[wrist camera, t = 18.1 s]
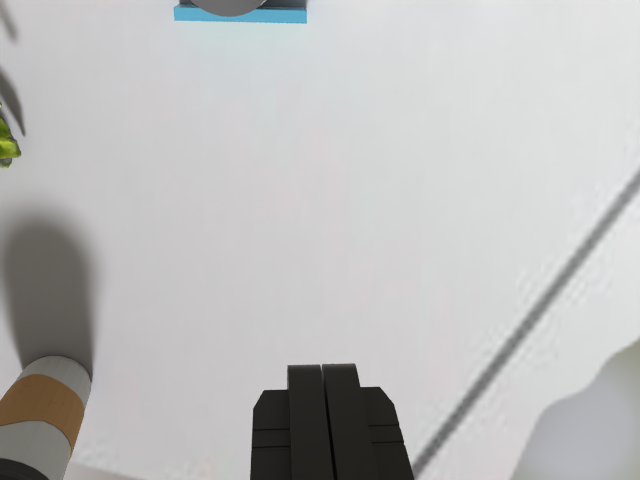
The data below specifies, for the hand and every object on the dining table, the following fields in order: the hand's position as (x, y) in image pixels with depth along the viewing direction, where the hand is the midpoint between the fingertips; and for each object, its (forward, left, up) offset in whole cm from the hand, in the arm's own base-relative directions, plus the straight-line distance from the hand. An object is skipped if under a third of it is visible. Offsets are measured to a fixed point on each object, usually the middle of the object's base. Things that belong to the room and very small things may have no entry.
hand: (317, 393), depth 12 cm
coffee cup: (+22, +28, -33) cm, 48 cm away
